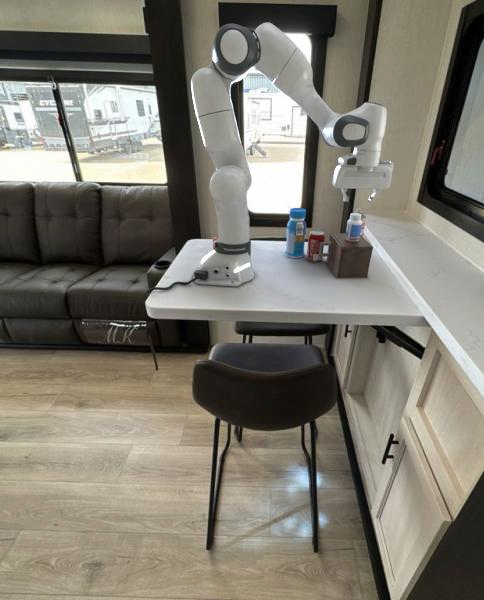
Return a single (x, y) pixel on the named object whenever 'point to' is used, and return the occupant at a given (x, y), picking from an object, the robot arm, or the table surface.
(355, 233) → the pill bottle
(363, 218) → the aerosol can
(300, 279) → the table surface
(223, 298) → the table surface
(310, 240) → the soda can
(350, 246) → the cupboard
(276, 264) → the table surface
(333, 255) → the cupboard door
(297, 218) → the beverage bottle
